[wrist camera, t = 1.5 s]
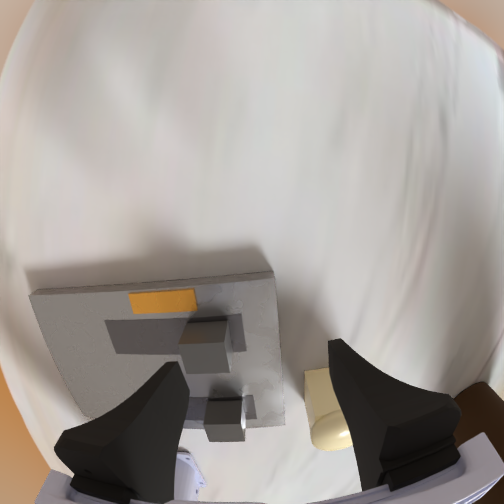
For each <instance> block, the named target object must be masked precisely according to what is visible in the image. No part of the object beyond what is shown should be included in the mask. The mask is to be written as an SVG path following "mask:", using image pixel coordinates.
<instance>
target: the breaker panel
mask: <svg viewBox="0 0 504 504" xmlns="http://www.w3.org/2000/svg"><path fill="white" fill-rule="evenodd" d="M28 296H29V299H30V302H31V305H32V308H33V310H34V313H35V316H36V319H37V321H38V324H39V327H40V329H41V332H42V334H43V336H44V339H45V341H46V344H47V346H48V348H49V350H50V353H51V355H52V357H53V359H54V361H55V363H56V365H57V367H58V370H59V372H60V374H61V375H62V377H63V379H64V381H65V383H66V385H67V387H68V389H69V391H70V392H71V394H72V396H73V398H74V399H75V401H76V403H77V405H78V406H79V408H80V410H81V411H82V413H83V414H84V416H88V417H93V418H98V417H100V416H102V415H103V414H105V413H107V412H109V411H110V410H112V409H114V408H115V407H117V406H118V405H119V404H121V403H122V402H124V401H125V400H126V399H127V398H129V397H130V396H131V395H132V394H133V393H134V392H136V391H137V390H138V389H139V388H140V387H141V386H142V385H143V384H144V383H145V382H146V381H147V380H148V379H149V378H150V377H151V376H152V375H153V374H154V373H155V372H156V371H157V370H158V369H159V368H160V367H161V366H163V365H164V364H165V363H166V362H170V361H178V362H179V365H180V368H181V370H182V373H183V375H184V377H185V380H186V382H187V385H188V387H189V389H190V396H189V405H188V410H187V414H186V418H185V422H184V425H183V428H186V429H205V428H204V426H203V422H204V417H205V411H206V406H207V401H234V400H242V402H243V407H244V412H245V418H246V423H245V428H259V427H272V426H282V425H285V411H284V395H283V379H282V364H281V350H280V336H279V323H278V310H277V298H276V286H275V276H274V272H273V271H267V272H257V273H247V274H237V275H226V276H216V277H205V278H194V279H182V280H170V281H158V282H145V283H132V284H119V285H104V286H89V287H74V288H57V289H39V290H36V291H34V292H33V293H31V294H30V295H28ZM227 320H228V324H229V330H230V336H231V342H232V348H233V352H232V361H231V370H230V373H216V374H186V371H185V368H184V365H183V361H182V358H181V354H180V351H179V347H178V343H179V340H180V338H181V335H182V333H183V331H184V328H185V326H186V323H197V322H213V321H227Z"/></svg>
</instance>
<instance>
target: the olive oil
mask: <svg viewBox="0 0 504 504" xmlns="http://www.w3.org/2000/svg"><path fill="white" fill-rule="evenodd" d="M454 401H455V402H456V404H457V405H458V407H459V408H460V409H461V414H462V415H461V418H460V421H459V423H458V425H457V427H456V429H455V431H454V433H453V435H454V437H455V439H456V442H455V443H454V444H455V446H456V448H458V447H459V446H461V445H462V444H463V443H465V442H467V441H468V440H470V439H472V438H474V437H475V436H477V435H479V434H480V433H482V432H484V433H485V435H486V436H487V438H488V439H489V441H490V442H491V444H492V445H493V447H494V448H495V450H496V451H497V453H498V455H499V456H500V458H501V459H502V461H503V463H504V401H503V400H502V399H501V398H500V397H499V396H498V395H497V394H496V393H495V391H494V390H493V389H492V388H491V387H490V386H489V385H488V384H487V383H485V382H480V383H476V384H474V385H472V386H470V387H469V388H467V389H466V390H464V391H463V392H462V393H460V394H459V395H458V396H457V397H456V398H455V399H454ZM472 504H504V475H503V476H502V477H501V478H500V480H499V481H498V482H497V483H496V484H495V485H494V486H493V487H492V488H491V489H490V490H489V491H488V492H487V493H485V494H484V495H483V496H482V497H481V498H479V499H478V500H476V501H475V502H473V503H472Z"/></svg>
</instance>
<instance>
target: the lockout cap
mask: <svg viewBox="0 0 504 504" xmlns="http://www.w3.org/2000/svg"><path fill="white" fill-rule="evenodd" d="M304 387H305V391H304V402H305V407H306V412H307V417H308V422H309V427H310V435H311V441H312V444H313V445H314V446H315V447H316V448H318V449H320V450H325V451H334V450H340V449H344V448H347V447H349V446H352V445H353V443H352V439H351V435H350V432H349V429H348V426H347V423H346V420H345V418H344V415H343V413H342V410H341V408H340V405H339V403H338V400H337V398H336V395H335V393H334V390H333V386H332V382H331V378H330V374H329V367H328V368H321V369H315V370H308V371H304Z"/></svg>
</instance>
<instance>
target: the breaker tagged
mask: <svg viewBox="0 0 504 504" xmlns="http://www.w3.org/2000/svg"><path fill="white" fill-rule="evenodd" d="M178 347H179V351H180V354H181V358H182V361H183V365H184V368H185V371H186V374H216V373H230V370H231V361H232V352H233V348H232V342H231V336H230V330H229V324H228V320H227V321H213V322H197V323H186V326H185V328H184V331H183V333H182V335H181V338H180V340H179V343H178Z"/></svg>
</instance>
